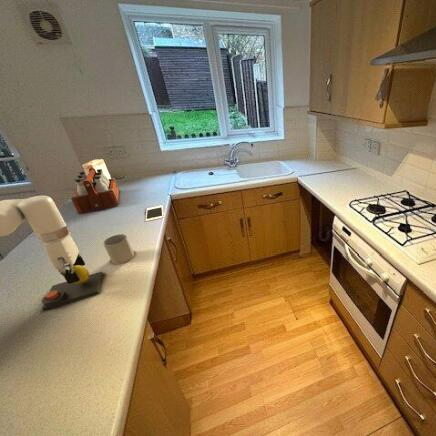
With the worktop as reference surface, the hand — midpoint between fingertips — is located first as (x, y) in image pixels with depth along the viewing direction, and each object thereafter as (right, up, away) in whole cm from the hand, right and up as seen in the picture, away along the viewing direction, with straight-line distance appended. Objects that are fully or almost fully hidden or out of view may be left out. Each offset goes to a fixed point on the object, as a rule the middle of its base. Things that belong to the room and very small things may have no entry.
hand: (77, 273), depth 86 cm
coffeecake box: (-70, +45, +100) cm, 130 cm away
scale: (-1, -7, +1) cm, 7 cm away
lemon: (0, -4, +2) cm, 5 cm away
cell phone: (-3, +23, +55) cm, 59 cm away
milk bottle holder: (-51, +31, +74) cm, 95 cm away
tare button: (-3, -7, -5) cm, 9 cm away
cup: (+4, +2, +18) cm, 18 cm away
